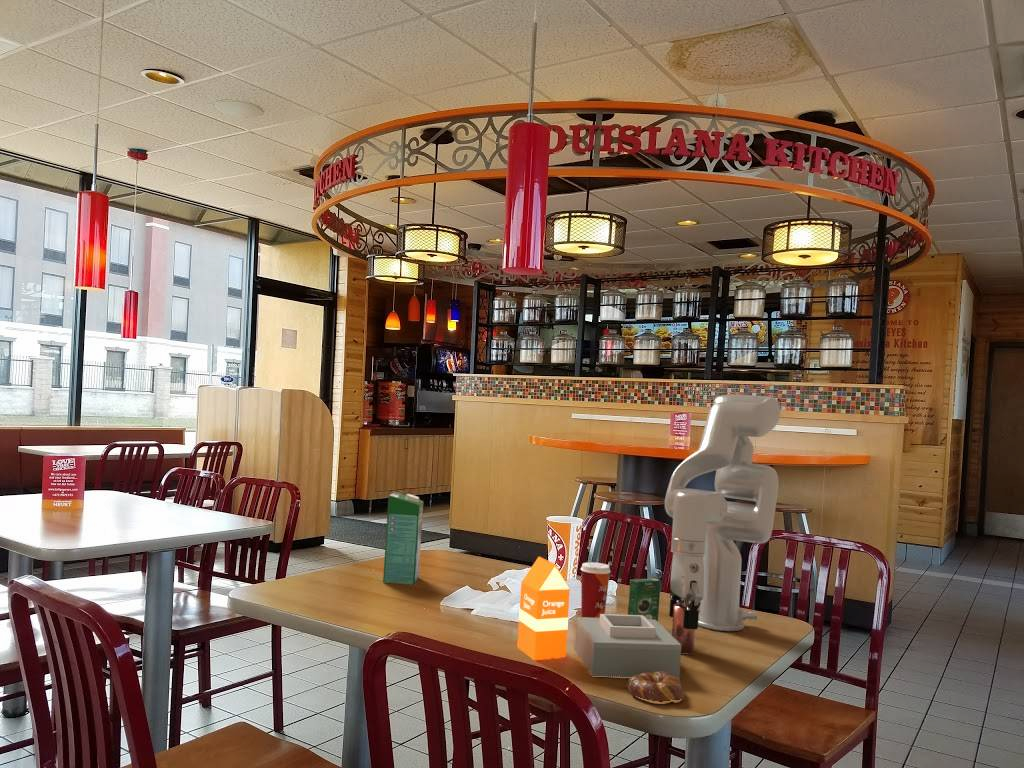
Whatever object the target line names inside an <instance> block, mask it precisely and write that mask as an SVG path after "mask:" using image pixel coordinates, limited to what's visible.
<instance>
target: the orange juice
mask: <svg viewBox="0 0 1024 768" xmlns="http://www.w3.org/2000/svg"><path fill="white" fill-rule="evenodd" d="M520 583H521V584H520V596H519V597H520V600H519V613H518V629H517V630H518V633H517V647H516V648H517V649H519V650H520V651H522V652H523V653H524V654H525V655H526V656H528V657H529V658H530V659H532V660H533V661H540V660H541V661H542V660H552V659H551V658H555V659H562V658H561V657H566V655H567V640H568V630H569V629H568V628H569V607H570V593H571V591H570V590H571V589H570V587H569V585H568V584H567V581H565V578H564V577H563V575H562V573H561V571H560V570H559V568H558V566H557V564H556V563H554V562H551V561H549V560H547V559H545V558H544V557H542V556H538V557H537V558H536V560H535V561H534V563H533V564H532V566H531V568H530V569H529V570H528V572H527V573H526V574H525V576H524V577H523V579H522V580H521V582H520ZM566 658H567V657H566Z"/></svg>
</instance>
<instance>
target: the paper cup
mask: <svg viewBox="0 0 1024 768" xmlns="http://www.w3.org/2000/svg"><path fill="white" fill-rule="evenodd" d="M580 570H581V593H580V594H581V596H580V597H581V603H580V604H581V605H580V606H581V610H580V611H581V612H580V613H581V614H580V615H581V617H588V618H600V614H606V606H607V598H608V590H609V589H608V588H609V580H610V574H611V573H612V570H610V566H609V564H606V563H602V562H593V561H592V562H591V561H590V562H589V561H588V562H583V563H582V565H581V567H580Z"/></svg>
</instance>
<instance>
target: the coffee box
mask: <svg viewBox="0 0 1024 768" xmlns="http://www.w3.org/2000/svg"><path fill="white" fill-rule="evenodd" d="M661 582H662V581H661V579H658V578H655V577H653V578H636V579H630V580H629V591H628V592H629V593H628V594H629V595H628V606H627V609H628V610H627V615H643V616H644V617H645V618H646V619H649V620H656V621H657V622H658V623H659V612H660V611H659V609H660V599H661V598H660V596H661V585H662V583H661Z"/></svg>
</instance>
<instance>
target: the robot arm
mask: <svg viewBox="0 0 1024 768" xmlns="http://www.w3.org/2000/svg"><path fill="white" fill-rule="evenodd" d="M780 416H781V407H780V404H779V401H778V400H777V399H776V398H775V397H773V396H768V395H767V396H766V395H753V394H752V395H749V394H722V395H719V396H717V397H716V398H715V399H714V400H713V402H712V406H711V407H710V409H709V411H708V414H707V418H706V422H705V425H704V429H703V432H702V435H701V438H700V442H699V447H698V449H697V450H696V451H695V452H693V453H692V454H689V456H688V457H686V458H685V459H684V460H682V462H681V463H680V464H678V465H677V467H676V468H675V469H674V471H673V473H672V474H671V477H670V480H669V483H668V487H667V490H666V493H665V498H664V510H665V512H666V514H667V515H668V516H669V517H671V518H672V531H671V543H670V544H671V545H670V552H671V553H672V554H673V555H672V562H671V573H670V591H671V592H670V595H669V599H670V600H669V601H670V602H669V612H668V613H669V615H668V616H669V617H670V618H673V609H674V604H676V601H677V600H682V601H683V604H685V607H686V610H684V619H683V628H685V629H695V630H698V628H699V626H700V627H703V628H705V629H709V630H710V629H711V630H713V631H722V632H723V631H724V632H736V631H742V630H743V629H744V628H745V622H744V621H745V620H749V621H750V620H753V621H754V620H755V621H756V620H757V619H758V613H757V612H756V611H749V610H745V609H744V610H743V609H742V608H740V598H741V597H740V594H741V580H742V579H741V577H742V576H741V575H742V560H743V559H742V555H741V552H740V550H739V548H738V547H737V545H736V544H735V542H734V541H739V542H746V543H753V544H765V543H767V542H768V541H769V540H770V539H771V537H772V533H773V528H774V522H775V515H776V513H775V512H776V507H777V500H778V495H779V494H778V493H779V477H778V472H777V471H776V469H774V467H772V466H770V465H767V464H759V463H757V464H756V463H752V461H753V456H754V455H753V454H754V449H755V448H754V445H753V442H752V440H751V439H750V438H749V437H751V438H761V437H764V436H766V435H767V434H769V433H771V431H772V430H774V429H775V427H776V426H777V425H778V423H779V421H780ZM714 471H715V476H714V490H715V491H713V490H712V491H711V490H705V489H704V490H703V489H697V488H691V487H690V488H688V487H687V486H688V483H690V482H691V481H692V480H694V479H695V478H697V477H699V476H701V475H704V474H708V473H710V472H714ZM726 498H729V499H737V500H742V501H743V500H744V501H752V502H755V504H750V503H745V502H744V503H743V502H737V501H729V500H727V499H726Z"/></svg>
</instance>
